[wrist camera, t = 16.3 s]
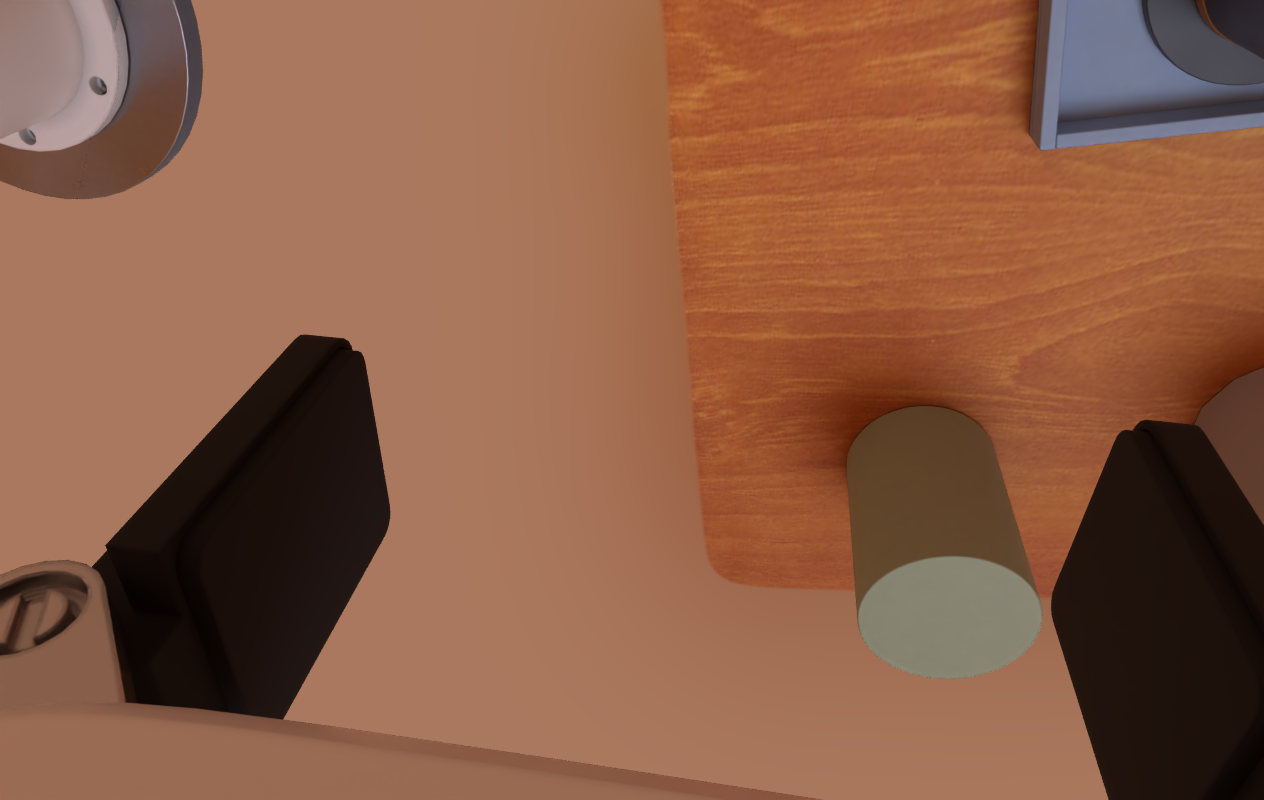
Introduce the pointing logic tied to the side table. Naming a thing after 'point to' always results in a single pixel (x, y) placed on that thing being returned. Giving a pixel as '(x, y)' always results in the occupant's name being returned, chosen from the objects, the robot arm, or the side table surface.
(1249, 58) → the hat
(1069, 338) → the side table surface
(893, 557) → the pedestal
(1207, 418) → the cup
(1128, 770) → the robot arm
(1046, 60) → the tray
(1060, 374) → the side table surface
